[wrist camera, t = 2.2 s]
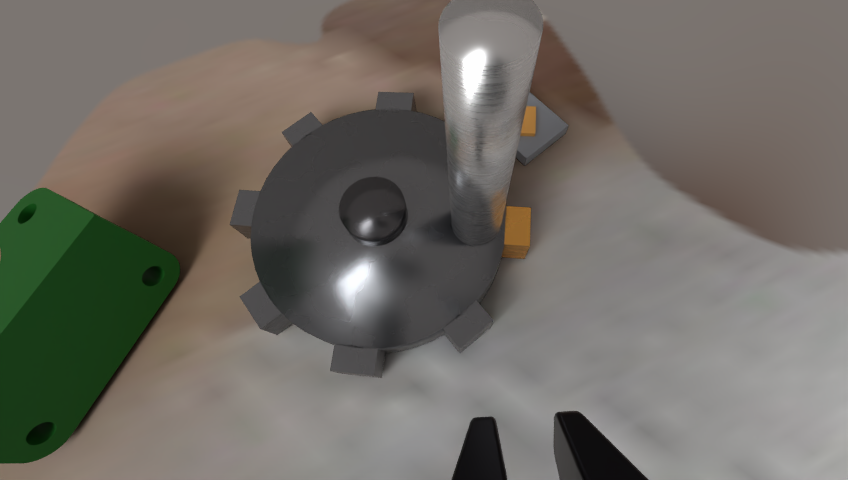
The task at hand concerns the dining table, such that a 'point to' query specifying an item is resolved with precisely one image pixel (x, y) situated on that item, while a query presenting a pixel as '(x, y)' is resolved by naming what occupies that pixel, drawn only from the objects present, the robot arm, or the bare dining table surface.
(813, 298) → the dining table surface
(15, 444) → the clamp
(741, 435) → the dining table surface
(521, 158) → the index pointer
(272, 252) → the sprocket
